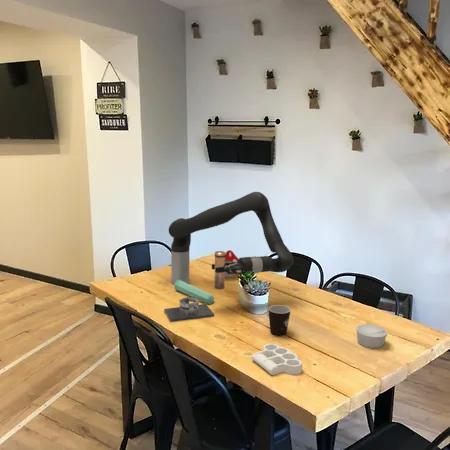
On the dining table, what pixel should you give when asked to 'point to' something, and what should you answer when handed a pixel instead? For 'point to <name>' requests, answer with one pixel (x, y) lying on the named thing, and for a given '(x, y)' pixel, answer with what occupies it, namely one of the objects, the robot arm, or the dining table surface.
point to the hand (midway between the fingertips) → (213, 268)
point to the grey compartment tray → (278, 360)
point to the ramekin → (371, 335)
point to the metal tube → (221, 276)
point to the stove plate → (181, 317)
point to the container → (193, 292)
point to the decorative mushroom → (231, 256)
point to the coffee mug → (279, 319)
